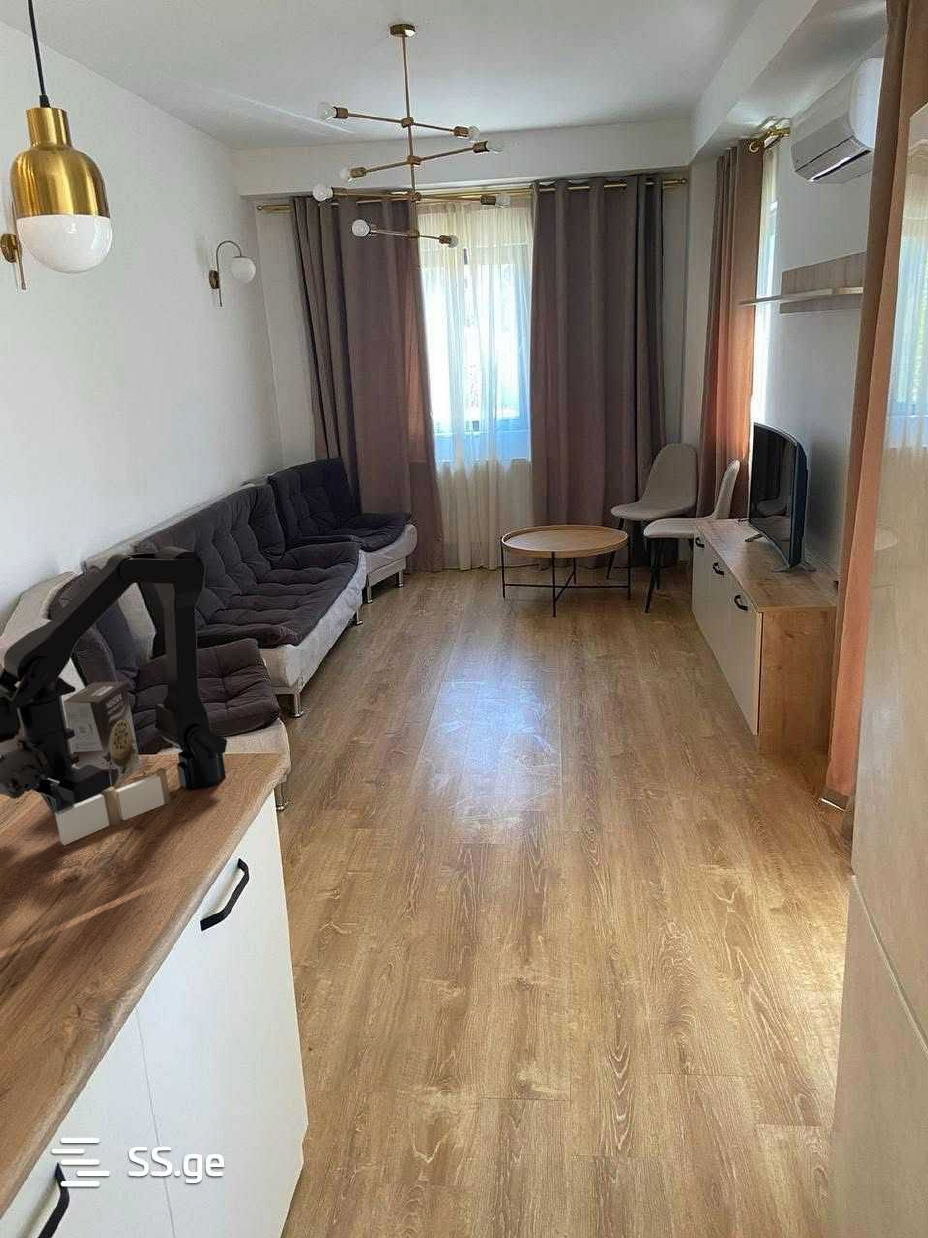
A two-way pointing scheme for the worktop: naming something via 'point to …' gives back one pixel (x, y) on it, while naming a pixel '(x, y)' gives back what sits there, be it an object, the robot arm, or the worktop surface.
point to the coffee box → (103, 729)
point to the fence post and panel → (136, 797)
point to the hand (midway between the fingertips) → (63, 823)
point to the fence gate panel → (82, 819)
